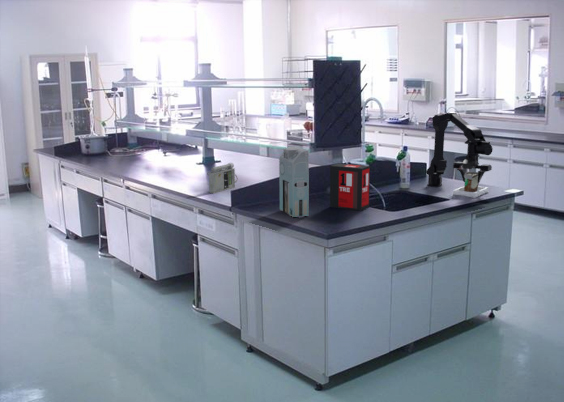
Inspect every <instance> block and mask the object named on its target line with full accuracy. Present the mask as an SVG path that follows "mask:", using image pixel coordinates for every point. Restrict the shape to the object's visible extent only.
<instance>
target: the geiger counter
mask: <svg viewBox="0 0 564 402" xmlns="http://www.w3.org/2000/svg"><path fill="white" fill-rule="evenodd" d="M234 167H235V165H234V163H233V162H228V163H227V164H223V165H218V166H214V167H211V169H210V171H208V172H206V175H207V176H208V184H209V185H208V186H209V194H216V193H220V192H224V191H226V190H230V189H234V188H236V183H237V182H238V180H239V179H238V176H237V174H236V171H235V170H236V169H235V168H234Z"/></svg>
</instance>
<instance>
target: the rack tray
mask: <svg viewBox="0 0 564 402" xmlns="http://www.w3.org/2000/svg"><path fill="white" fill-rule="evenodd" d="M464 186H465V185H464ZM464 186H460V187H459V188H458V187H457V188H455V189H453V190H452V195H453V196H457V197H466V198H474V199H476V198H478V197H480V196H483V195H485V194H487V193H489V187H487V186H480V185H478V190H477V192H466V191H464Z"/></svg>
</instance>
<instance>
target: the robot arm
mask: <svg viewBox="0 0 564 402" xmlns="http://www.w3.org/2000/svg"><path fill="white" fill-rule="evenodd" d="M431 122H432V127H433V129H434V148H433V157H432V159H431V161H430V164H429V167H428V168H427V169H426V170H425V173H426V175H427V176H428V180H427V181H428V182H427V184H426V186H429V187H436V188H438V187H441V186H442V185H443V184H442V182H443V177H442V175H444V174H445V171H446V168H447V167H448V166H447V163H448V160H447V159H445V158H444V147H445V146H444V145H445V133H446V132H445V131H446V129H447V127H448V125H449V123H450V122H451V123H452V124H454V126H456V127H457V128H458V129H459V130H460V131H462V132H463V136H464V137H465V138H466V139H467V140H466V141H464V144H466V145H467V150H466V151H467V152H466V155H465V159H464V160H462V161H456V162H454V163H453V165H452V168H453V169H456V170H457V171H459V172H460V175H461V179H462V181H463V182H464V183H465V177H464V175H465V173H466V172H467V170H472V169H478V170H477V172H478V185H479V184H480V182H481V179H482V178H483V176H484V174H485V173H487V172H490V171H492V168H493V167H492V165H491V164H487V163H484V164H481V165H480V162H479V157H480V155H482V156H490V155H491V154H492V152H493V150H494V149H493V146H492V145H491V142H490V141H486V139H485V136H484V134H483V133H482V132H483V131H482V130H481V129H480V128H478V127H476V126H473V125H471V124H469V123H468V122H467V121H466V120H464V119H463V118H462V117H461V116H460V115H458V113H457V112H455V111H449V112H446V113H443V114H434V116H432V121H431Z"/></svg>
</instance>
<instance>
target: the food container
mask: <svg viewBox="0 0 564 402" xmlns="http://www.w3.org/2000/svg"><path fill="white" fill-rule="evenodd" d="M464 177H465V182H464V191H466V192H477V190H478V186H479V184H478V171H466V173H465V175H464Z"/></svg>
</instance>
